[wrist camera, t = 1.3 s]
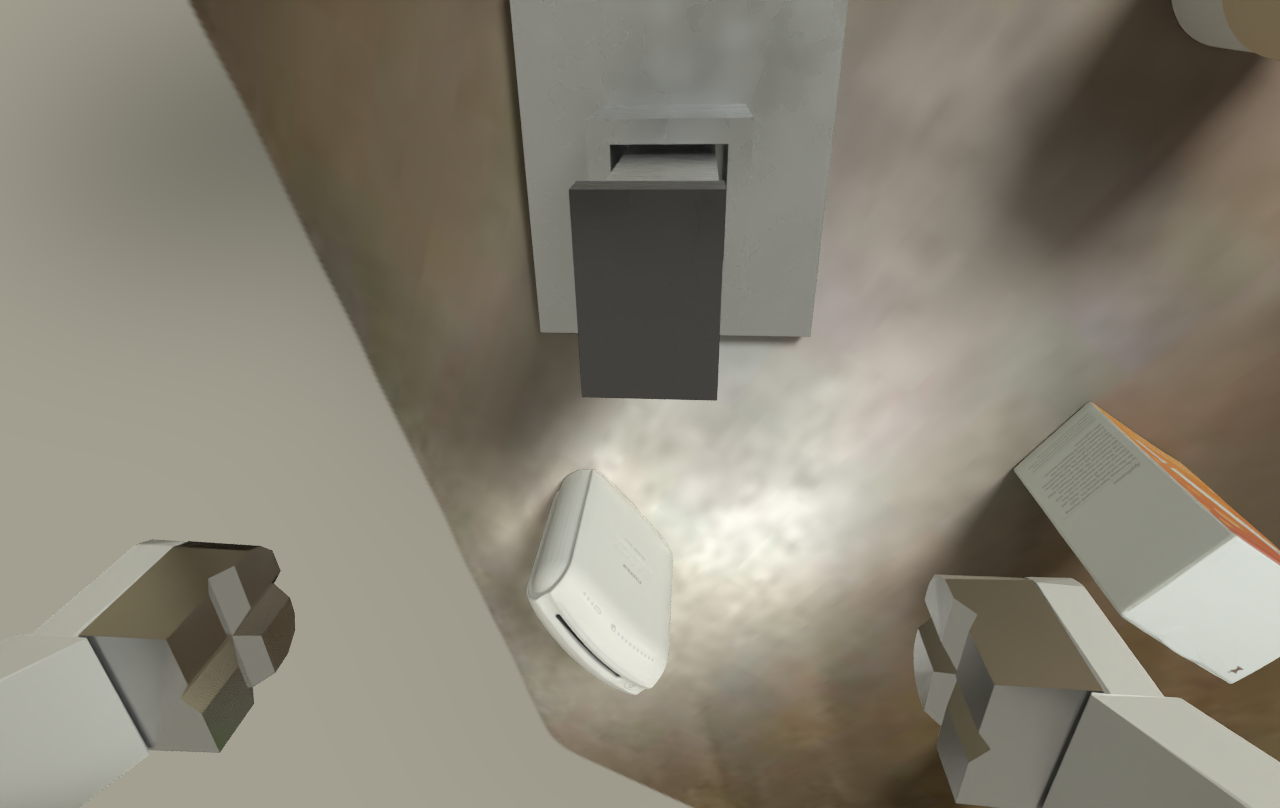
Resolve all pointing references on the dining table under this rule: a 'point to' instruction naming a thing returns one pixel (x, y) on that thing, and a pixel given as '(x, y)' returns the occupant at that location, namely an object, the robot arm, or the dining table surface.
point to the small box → (1160, 543)
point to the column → (650, 274)
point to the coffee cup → (1233, 24)
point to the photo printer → (604, 584)
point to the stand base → (687, 131)
